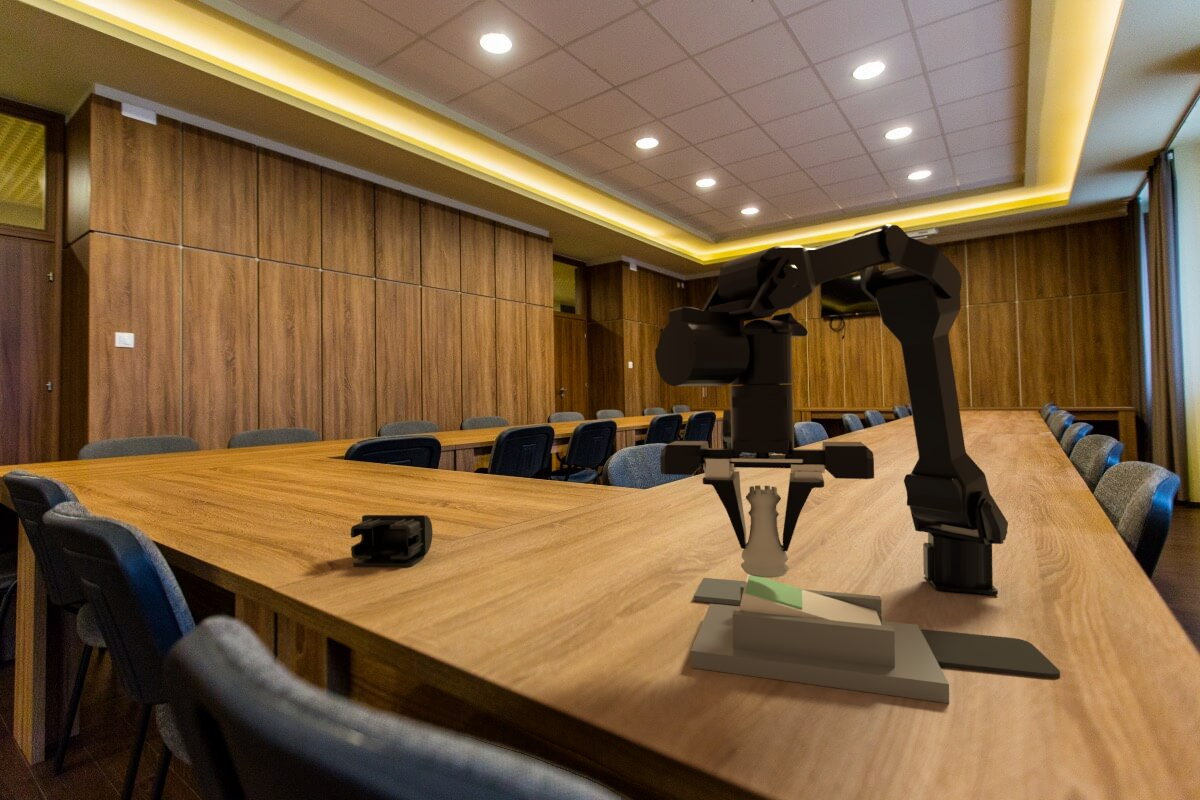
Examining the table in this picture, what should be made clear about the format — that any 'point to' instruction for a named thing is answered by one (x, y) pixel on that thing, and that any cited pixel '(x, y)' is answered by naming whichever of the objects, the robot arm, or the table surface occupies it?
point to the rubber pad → (719, 591)
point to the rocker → (800, 603)
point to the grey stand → (821, 650)
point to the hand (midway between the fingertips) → (764, 549)
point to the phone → (989, 654)
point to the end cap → (391, 540)
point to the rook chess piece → (764, 536)
